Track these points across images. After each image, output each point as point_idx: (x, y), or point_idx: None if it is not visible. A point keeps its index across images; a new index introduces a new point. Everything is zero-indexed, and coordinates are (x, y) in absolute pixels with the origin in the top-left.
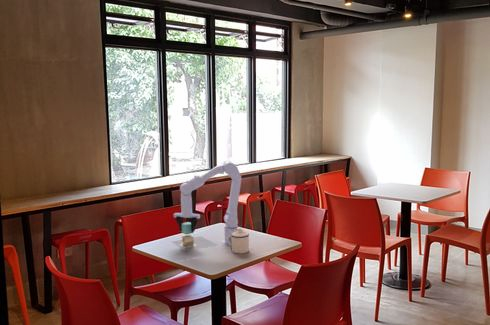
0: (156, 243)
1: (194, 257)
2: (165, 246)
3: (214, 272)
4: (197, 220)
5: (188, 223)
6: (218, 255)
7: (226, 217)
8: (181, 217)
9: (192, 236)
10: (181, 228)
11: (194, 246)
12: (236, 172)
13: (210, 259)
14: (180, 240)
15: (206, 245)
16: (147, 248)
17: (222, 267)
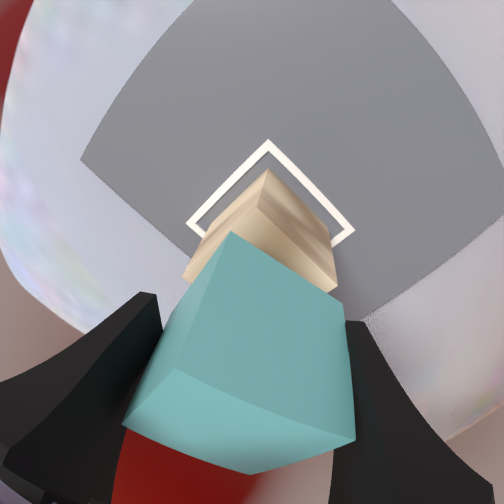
0: (23, 195)
1: None
2: (99, 246)
3: None
4: (461, 472)
5: (245, 437)
6: (483, 353)
7: None
8: (53, 491)
9: (327, 291)
10: (150, 361)
11: (343, 257)
12: None
13: (440, 393)
14: (128, 98)
15: (443, 222)
16: (49, 287)
17: (462, 423)
